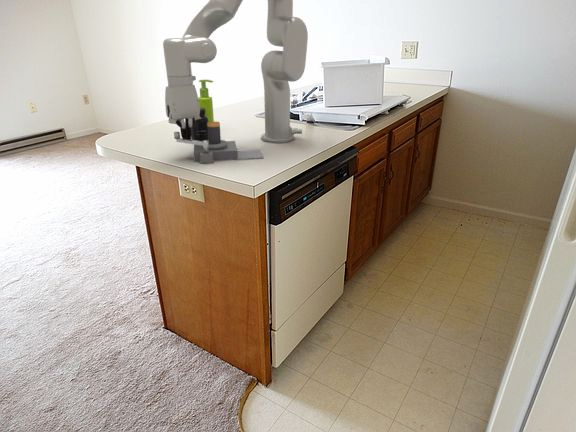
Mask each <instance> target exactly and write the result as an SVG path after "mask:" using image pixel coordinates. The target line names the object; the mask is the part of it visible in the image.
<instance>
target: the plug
mask: <svg viewBox="0 0 576 432" xmlns="http://www.w3.org/2000/svg"><path fill="white" fill-rule="evenodd" d="M220 124H221V123H220V122H219V121H215V120H214V121H213V122H208V123H207V126H208V139H209V140H208V144H209V149H221V148H224V147H226V146H227V142H226V140H223V139H222V137H221V126H220Z"/></svg>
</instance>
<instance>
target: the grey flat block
mask: <svg viewBox="0 0 576 432" xmlns="http://www.w3.org/2000/svg"><path fill="white" fill-rule="evenodd" d="M225 141H226V140H225ZM226 142H227V146H226V147H224V148H221V149H209V153H203V146H202V145H195V144H193V160H194V163H195V162H196V163H197V162H200V164H201V165H203V164H206V165H207V164H214V161H232V160H235V161H237V160H236V158H238V152H237V151H238V148H237V144H236V141H235V140H227V141H226Z"/></svg>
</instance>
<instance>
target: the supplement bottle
mask: <svg viewBox="0 0 576 432" xmlns="http://www.w3.org/2000/svg"><path fill="white" fill-rule="evenodd" d="M205 114H206V112H205V108H200V114H199V115H200V119H198V120H196V121H194V123H193V124H192V127H191V134H192V136H191V140H197V141H203V140H209V139H208V126H207V123H208V122H209V119H208V117H207V116H205Z"/></svg>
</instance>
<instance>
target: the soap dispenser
mask: <svg viewBox="0 0 576 432" xmlns="http://www.w3.org/2000/svg"><path fill="white" fill-rule="evenodd" d="M198 82H199V83H201V84H200V85H201V87H200V88H199V96H198V100H199V106H200V108H205V112H206V114H205V116H207V117H208V119H209V122H213V121H215V120H214V118H215V117H214V107H213V97H212V96H210V95H209V88H208V87H207V83H209V84H211V83H214V80H211V79H199V80H198Z"/></svg>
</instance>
